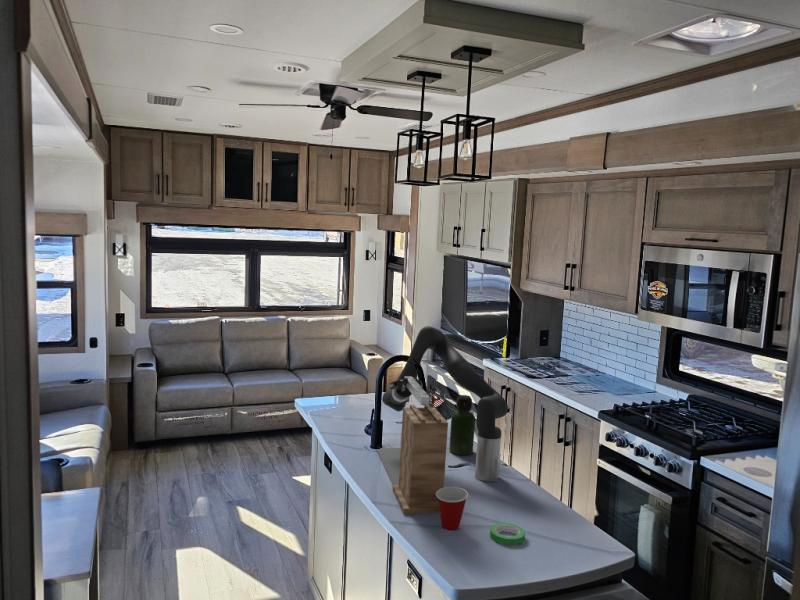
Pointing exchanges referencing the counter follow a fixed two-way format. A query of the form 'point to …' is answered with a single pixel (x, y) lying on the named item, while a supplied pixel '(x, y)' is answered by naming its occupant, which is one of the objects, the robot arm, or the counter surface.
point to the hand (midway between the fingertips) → (411, 380)
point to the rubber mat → (391, 462)
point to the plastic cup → (451, 506)
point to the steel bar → (417, 391)
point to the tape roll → (507, 539)
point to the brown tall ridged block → (421, 460)
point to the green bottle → (462, 427)
